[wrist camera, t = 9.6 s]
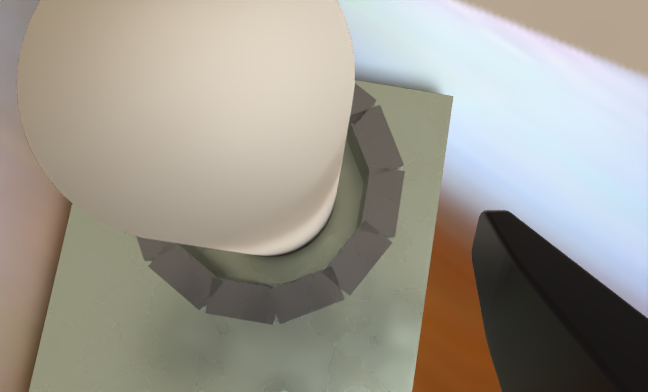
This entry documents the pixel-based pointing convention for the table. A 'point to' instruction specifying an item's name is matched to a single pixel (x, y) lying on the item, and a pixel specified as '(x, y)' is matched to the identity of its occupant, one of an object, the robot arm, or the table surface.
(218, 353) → the grey ring base plate
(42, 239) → the table surface
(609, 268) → the table surface
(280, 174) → the post
